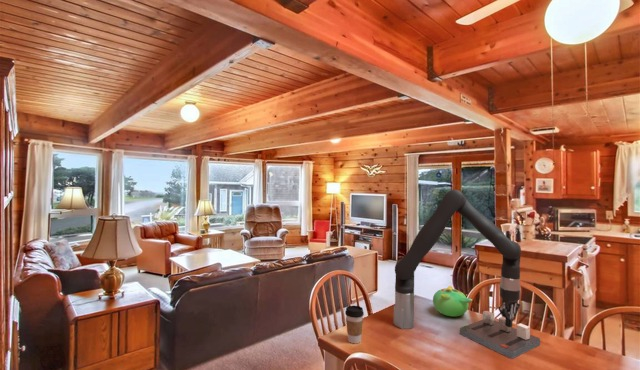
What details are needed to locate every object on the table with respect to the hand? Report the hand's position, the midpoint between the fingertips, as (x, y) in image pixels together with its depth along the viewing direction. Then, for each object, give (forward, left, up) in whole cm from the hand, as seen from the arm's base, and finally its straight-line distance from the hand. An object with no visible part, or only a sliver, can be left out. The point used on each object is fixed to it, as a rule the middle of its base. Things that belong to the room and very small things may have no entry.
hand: (508, 326), depth 137 cm
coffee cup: (-56, +38, -9) cm, 68 cm away
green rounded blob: (+5, +34, -9) cm, 35 cm away
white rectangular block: (+7, -2, -6) cm, 9 cm away
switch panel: (+2, +6, -9) cm, 11 cm away
